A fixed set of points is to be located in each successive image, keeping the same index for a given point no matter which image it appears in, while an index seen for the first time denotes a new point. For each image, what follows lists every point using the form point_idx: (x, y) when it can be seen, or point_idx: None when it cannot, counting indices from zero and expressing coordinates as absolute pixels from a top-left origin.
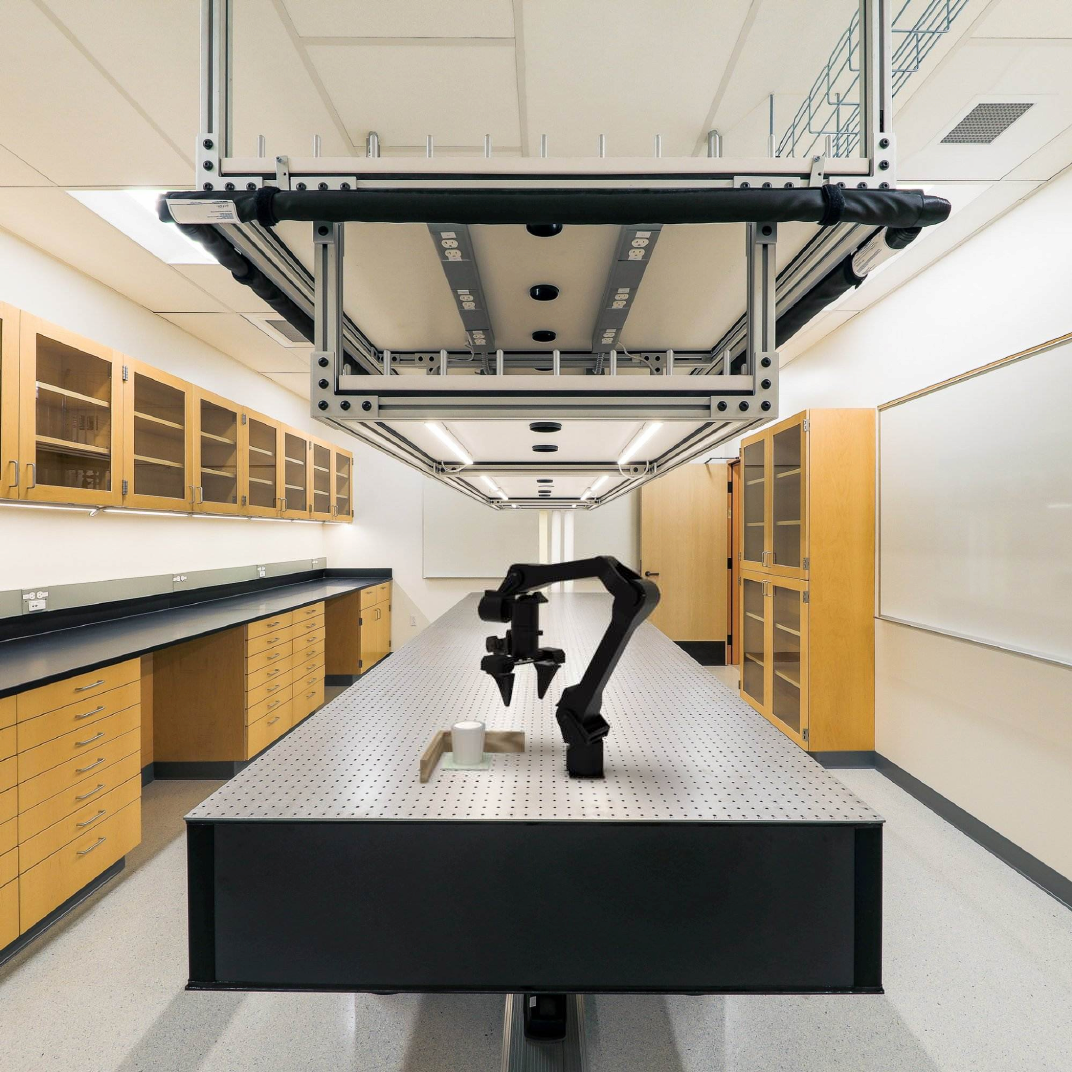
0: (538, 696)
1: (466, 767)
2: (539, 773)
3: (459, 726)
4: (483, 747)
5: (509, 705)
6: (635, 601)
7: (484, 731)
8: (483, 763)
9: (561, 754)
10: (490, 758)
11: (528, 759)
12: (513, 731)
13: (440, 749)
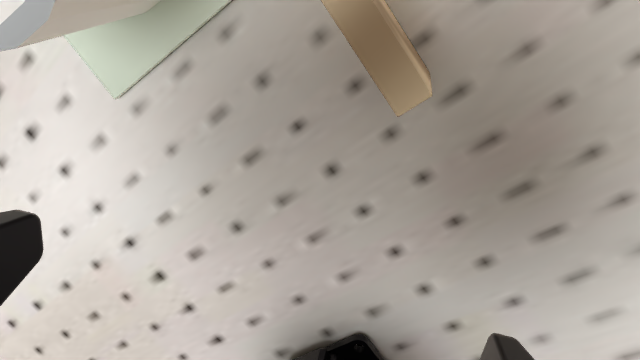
0: (490, 351)
1: None
2: (239, 273)
3: None
4: (132, 4)
5: (29, 267)
6: None
7: (54, 31)
8: (140, 37)
9: (488, 247)
10: (207, 15)
11: (336, 159)
12: (385, 28)
13: None
